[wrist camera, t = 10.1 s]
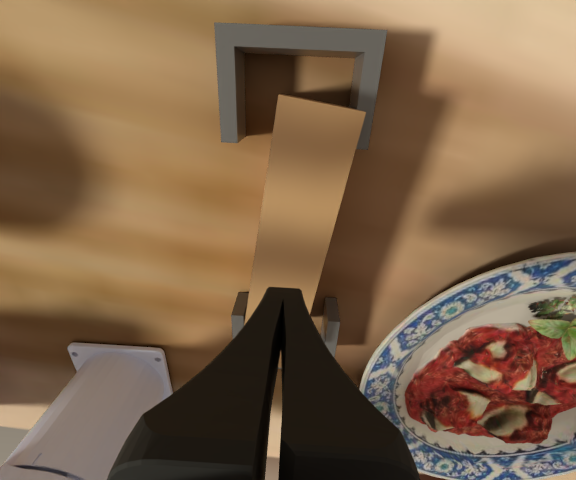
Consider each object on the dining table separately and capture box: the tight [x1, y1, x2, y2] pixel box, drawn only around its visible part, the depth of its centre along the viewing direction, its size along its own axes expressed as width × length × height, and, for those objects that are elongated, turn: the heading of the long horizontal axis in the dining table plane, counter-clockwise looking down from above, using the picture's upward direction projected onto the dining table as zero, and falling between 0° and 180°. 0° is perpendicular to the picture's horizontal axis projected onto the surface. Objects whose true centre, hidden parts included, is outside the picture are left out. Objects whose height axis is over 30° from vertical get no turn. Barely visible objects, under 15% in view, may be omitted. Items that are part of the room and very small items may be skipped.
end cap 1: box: [214, 22, 387, 150], centre depth 14 cm, size 5×7×2 cm, turn 88°
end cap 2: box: [231, 292, 340, 369], centre depth 21 cm, size 5×7×2 cm, turn 88°
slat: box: [244, 94, 366, 368], centre depth 17 cm, size 15×4×5 cm, turn 170°
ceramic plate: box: [359, 252, 576, 480], centre depth 23 cm, size 26×26×3 cm
